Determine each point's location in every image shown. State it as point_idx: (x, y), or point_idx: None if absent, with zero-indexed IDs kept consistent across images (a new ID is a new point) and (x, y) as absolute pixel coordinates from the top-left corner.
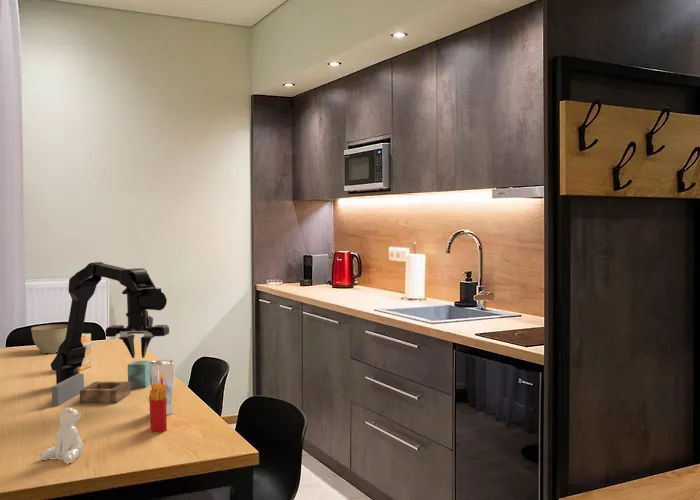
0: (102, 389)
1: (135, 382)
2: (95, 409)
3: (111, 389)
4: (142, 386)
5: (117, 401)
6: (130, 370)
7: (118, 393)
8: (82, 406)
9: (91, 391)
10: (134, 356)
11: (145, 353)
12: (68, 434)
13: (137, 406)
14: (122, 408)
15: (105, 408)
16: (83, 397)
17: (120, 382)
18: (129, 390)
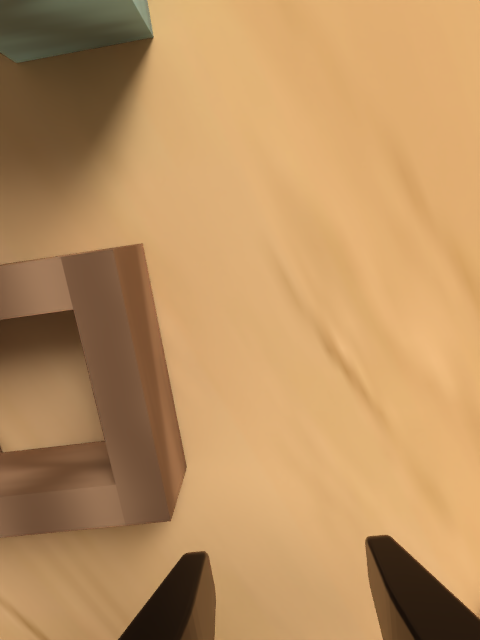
0: (56, 509)
1: (52, 33)
2: (140, 575)
3: (121, 503)
4: (124, 37)
5: (182, 458)
6: None
7: (170, 467)
8: (33, 534)
9: (2, 531)
10: (205, 568)
11: (440, 596)
12: None
13: (341, 504)
14: (275, 546)
15: (182, 555)
16: None
17: (51, 294)
18: (138, 265)
